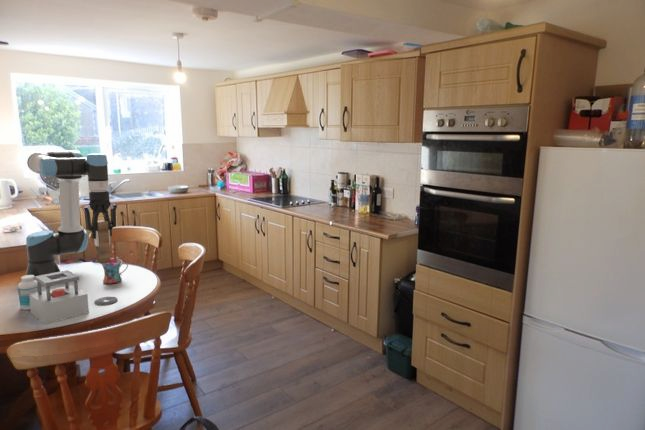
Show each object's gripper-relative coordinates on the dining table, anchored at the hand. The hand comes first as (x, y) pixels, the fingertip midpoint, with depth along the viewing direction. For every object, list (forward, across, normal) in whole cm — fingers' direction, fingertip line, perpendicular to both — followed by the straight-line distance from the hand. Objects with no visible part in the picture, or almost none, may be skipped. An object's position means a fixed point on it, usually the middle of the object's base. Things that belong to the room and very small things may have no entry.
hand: (102, 244), depth 184 cm
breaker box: (+26, -18, +1) cm, 31 cm away
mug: (+26, +15, +24) cm, 39 cm away
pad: (+26, 0, 0) cm, 26 cm away
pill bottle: (+26, -24, +16) cm, 39 cm away
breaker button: (+24, -18, +1) cm, 30 cm away
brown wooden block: (+8, 0, 0) cm, 8 cm away
